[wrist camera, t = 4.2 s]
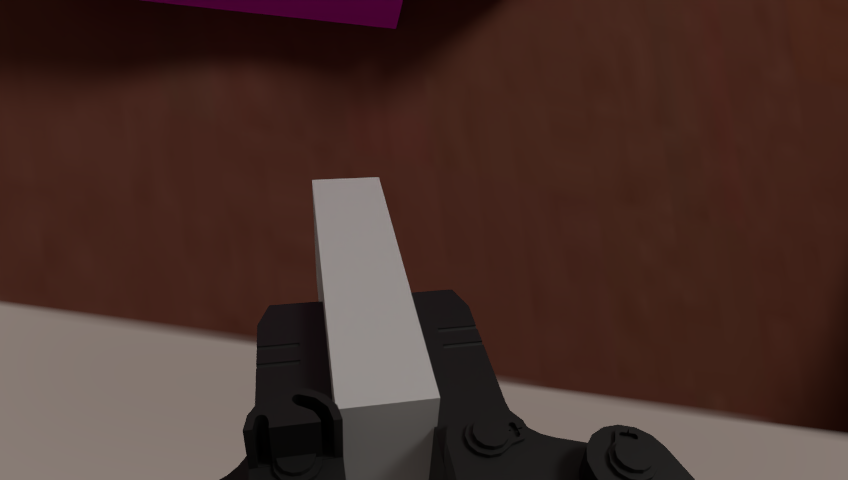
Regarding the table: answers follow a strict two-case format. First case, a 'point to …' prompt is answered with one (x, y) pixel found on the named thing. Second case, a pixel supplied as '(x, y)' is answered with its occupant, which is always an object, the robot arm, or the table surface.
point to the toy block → (311, 9)
